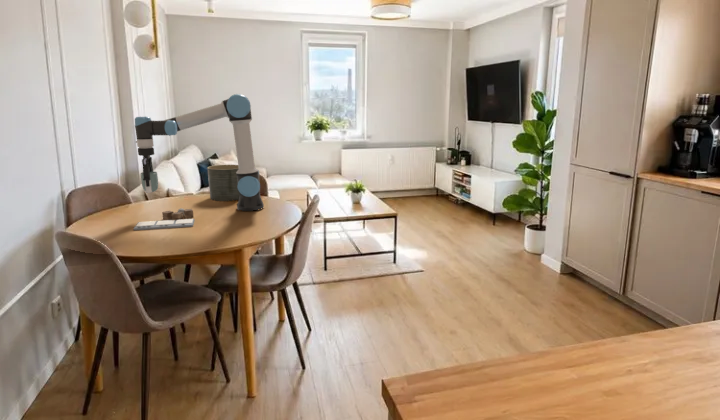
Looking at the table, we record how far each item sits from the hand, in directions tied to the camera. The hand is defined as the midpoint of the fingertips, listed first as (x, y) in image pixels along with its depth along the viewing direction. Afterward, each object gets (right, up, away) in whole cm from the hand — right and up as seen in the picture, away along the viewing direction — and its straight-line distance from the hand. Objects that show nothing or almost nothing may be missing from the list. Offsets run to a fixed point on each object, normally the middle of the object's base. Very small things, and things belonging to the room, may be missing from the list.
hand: (150, 190), depth 238 cm
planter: (+24, -2, +56) cm, 61 cm away
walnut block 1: (+8, -15, +3) cm, 17 cm away
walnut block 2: (+14, -16, +1) cm, 21 cm away
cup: (0, 0, 0) cm, 1 cm away
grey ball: (+13, -13, +10) cm, 21 cm away
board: (+12, -18, -9) cm, 23 cm away
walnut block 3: (+17, -14, +7) cm, 24 cm away
